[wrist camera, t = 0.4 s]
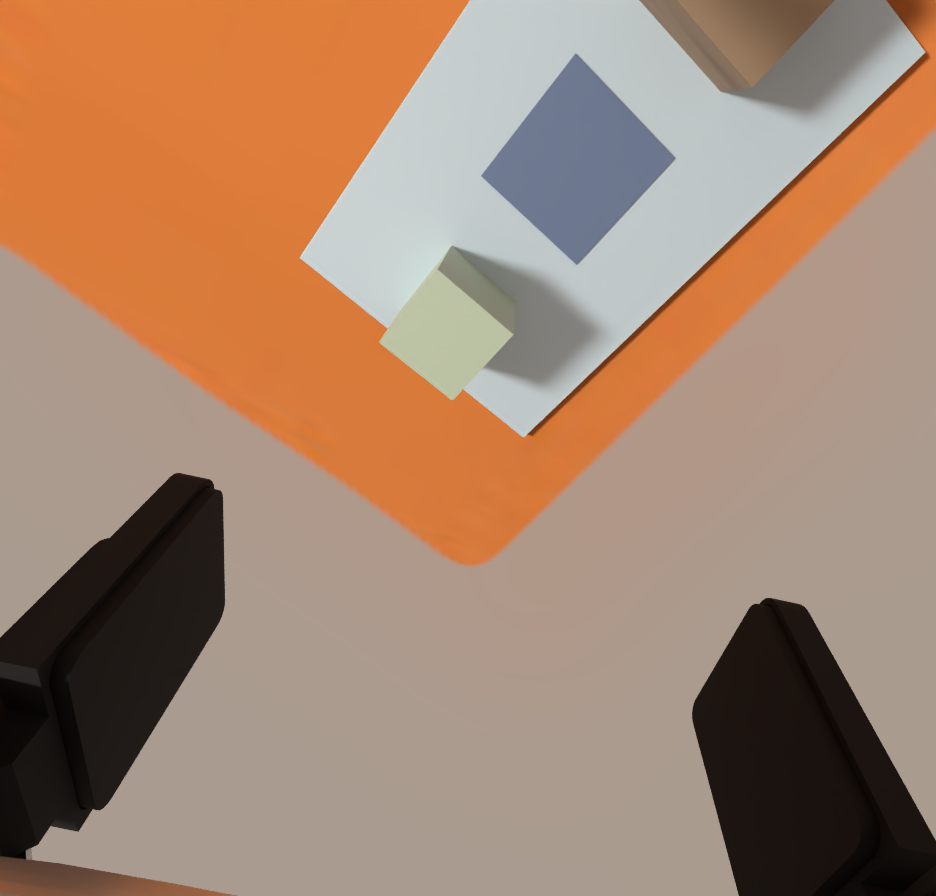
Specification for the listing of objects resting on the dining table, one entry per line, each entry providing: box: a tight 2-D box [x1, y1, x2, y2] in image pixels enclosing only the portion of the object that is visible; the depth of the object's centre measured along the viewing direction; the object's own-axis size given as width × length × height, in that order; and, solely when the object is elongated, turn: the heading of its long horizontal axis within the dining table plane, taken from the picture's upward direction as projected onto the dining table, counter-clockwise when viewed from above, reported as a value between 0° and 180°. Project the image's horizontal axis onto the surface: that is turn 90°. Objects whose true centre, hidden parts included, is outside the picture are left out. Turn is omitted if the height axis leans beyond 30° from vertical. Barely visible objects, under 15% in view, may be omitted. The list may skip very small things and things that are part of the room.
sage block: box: [379, 246, 516, 401], centre depth 34 cm, size 5×5×6 cm
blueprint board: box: [300, 0, 925, 438], centre depth 32 cm, size 28×18×1 cm, turn 140°
